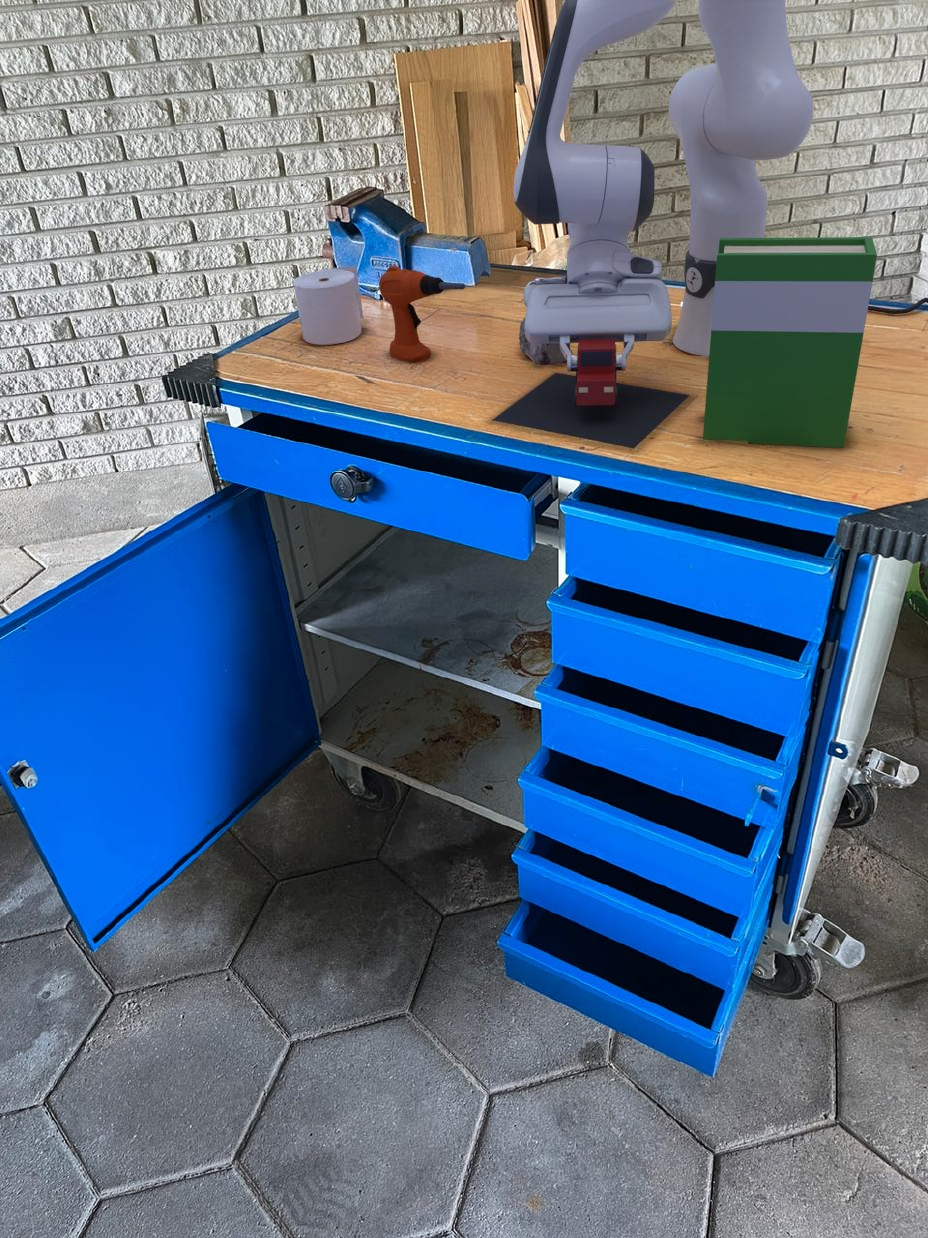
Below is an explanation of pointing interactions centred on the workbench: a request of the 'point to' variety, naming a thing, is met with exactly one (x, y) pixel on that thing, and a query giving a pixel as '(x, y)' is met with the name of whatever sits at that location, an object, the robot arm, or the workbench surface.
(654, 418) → the mat
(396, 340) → the toy drill
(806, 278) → the hardback book
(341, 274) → the toilet tissue
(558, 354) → the mineral rock
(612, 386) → the toy pickup truck
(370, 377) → the workbench surface
